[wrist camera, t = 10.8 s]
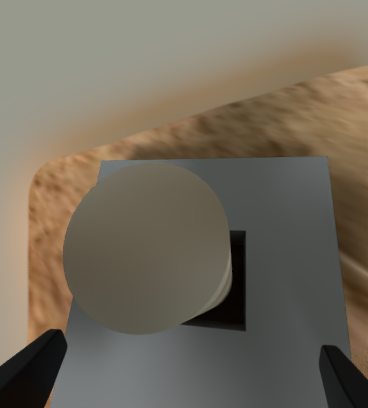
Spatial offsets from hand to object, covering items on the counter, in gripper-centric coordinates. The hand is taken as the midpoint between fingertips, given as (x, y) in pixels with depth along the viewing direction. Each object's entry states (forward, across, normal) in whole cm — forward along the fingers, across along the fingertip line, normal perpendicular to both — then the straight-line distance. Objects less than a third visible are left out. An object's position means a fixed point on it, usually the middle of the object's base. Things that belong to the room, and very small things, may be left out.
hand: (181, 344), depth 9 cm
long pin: (+8, 0, +4) cm, 9 cm away
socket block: (+8, 0, +4) cm, 9 cm away
